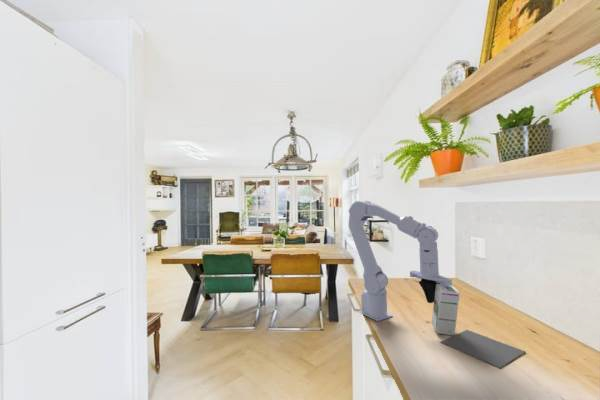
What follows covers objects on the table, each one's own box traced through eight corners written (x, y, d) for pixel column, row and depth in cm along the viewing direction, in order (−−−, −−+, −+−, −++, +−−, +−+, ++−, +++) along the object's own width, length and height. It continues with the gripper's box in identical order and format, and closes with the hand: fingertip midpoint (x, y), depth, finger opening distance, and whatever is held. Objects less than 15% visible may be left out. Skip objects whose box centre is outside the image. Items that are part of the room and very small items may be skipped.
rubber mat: (440, 342, 83) (440, 341, 83) (466, 330, 90) (466, 329, 90) (499, 368, 69) (499, 367, 69) (525, 352, 76) (525, 351, 76)
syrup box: (455, 336, 87) (461, 293, 85) (435, 332, 88) (440, 290, 86) (449, 325, 92) (454, 285, 90) (430, 323, 94) (435, 282, 92)
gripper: (456, 264, 90) (458, 305, 90) (418, 257, 102) (419, 294, 102) (443, 267, 86) (445, 310, 86) (405, 260, 99) (406, 297, 99)
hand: (430, 302), depth 94 cm, fingers closed
